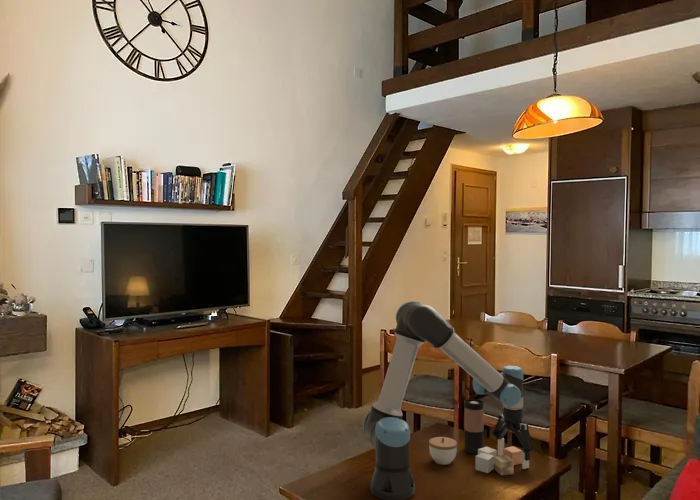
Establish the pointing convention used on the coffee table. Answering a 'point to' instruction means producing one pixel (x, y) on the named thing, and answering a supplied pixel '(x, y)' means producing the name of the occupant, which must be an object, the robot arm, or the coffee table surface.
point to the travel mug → (473, 425)
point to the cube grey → (484, 462)
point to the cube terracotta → (513, 454)
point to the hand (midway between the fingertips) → (512, 461)
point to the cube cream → (488, 451)
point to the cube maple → (504, 465)
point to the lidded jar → (443, 449)
